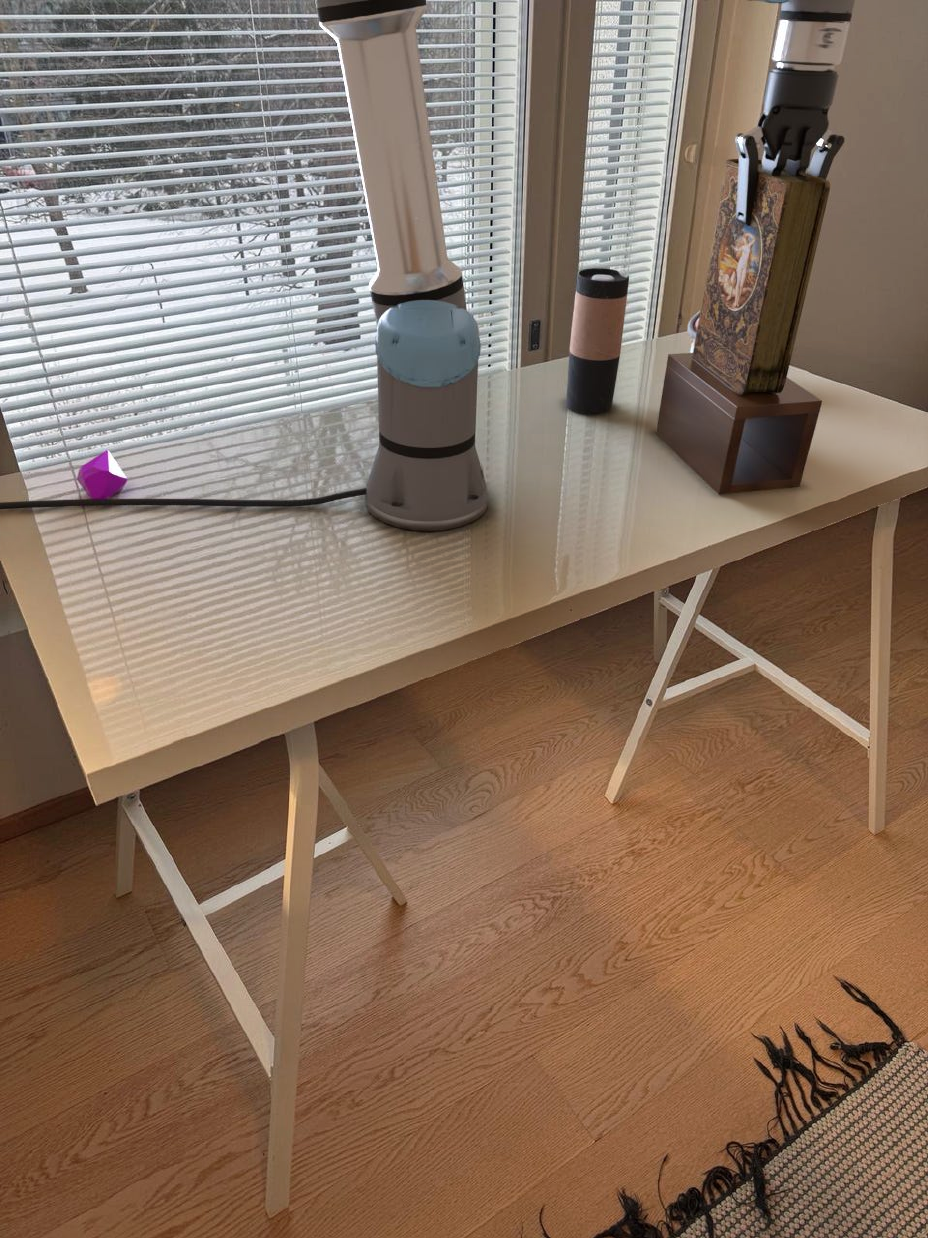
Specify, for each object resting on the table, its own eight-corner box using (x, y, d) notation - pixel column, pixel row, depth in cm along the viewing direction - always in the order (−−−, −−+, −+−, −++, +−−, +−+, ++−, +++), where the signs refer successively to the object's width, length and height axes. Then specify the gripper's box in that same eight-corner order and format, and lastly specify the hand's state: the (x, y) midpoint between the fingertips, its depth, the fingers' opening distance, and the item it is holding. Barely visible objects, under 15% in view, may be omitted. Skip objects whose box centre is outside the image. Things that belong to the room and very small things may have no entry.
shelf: (718, 494, 120) (736, 406, 114) (655, 433, 136) (668, 353, 129) (800, 486, 123) (822, 400, 116) (728, 428, 139) (744, 349, 132)
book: (687, 356, 129) (721, 158, 115) (723, 354, 130) (761, 158, 116) (742, 399, 116) (788, 182, 102) (782, 396, 117) (832, 181, 103)
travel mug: (559, 411, 142) (572, 277, 131) (569, 394, 148) (582, 265, 137) (608, 418, 141) (625, 283, 129) (616, 401, 147) (633, 270, 135)
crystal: (77, 491, 116) (69, 457, 113) (119, 480, 118) (113, 447, 116) (92, 507, 112) (84, 473, 110) (135, 496, 115) (129, 462, 113)
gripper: (763, 68, 98) (721, 294, 112) (882, 70, 101) (827, 289, 115) (729, 62, 104) (694, 278, 117) (843, 65, 107) (795, 274, 121)
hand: (760, 283), depth 116 cm, fingers closed
